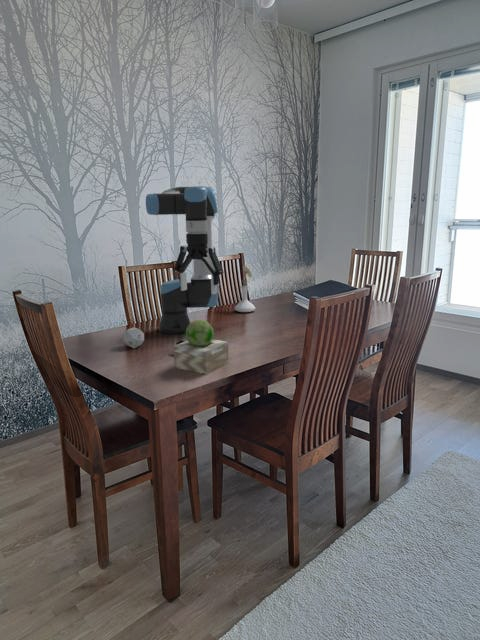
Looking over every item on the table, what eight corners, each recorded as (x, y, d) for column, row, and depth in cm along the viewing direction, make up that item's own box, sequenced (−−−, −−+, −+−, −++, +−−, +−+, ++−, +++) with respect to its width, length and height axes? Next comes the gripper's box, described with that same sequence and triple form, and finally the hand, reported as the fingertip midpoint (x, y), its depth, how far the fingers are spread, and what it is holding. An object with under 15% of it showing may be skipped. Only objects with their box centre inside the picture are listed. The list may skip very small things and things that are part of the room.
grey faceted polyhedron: (122, 351, 187) (133, 334, 183) (117, 337, 193) (127, 320, 189) (139, 354, 193) (151, 338, 189) (134, 340, 198) (145, 324, 194)
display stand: (174, 367, 166) (173, 346, 164) (197, 356, 178) (197, 336, 176) (206, 374, 159) (205, 352, 157) (228, 362, 170) (228, 341, 168)
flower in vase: (255, 313, 248) (255, 266, 242) (234, 313, 248) (233, 267, 242) (255, 308, 260) (255, 263, 254) (234, 308, 260) (234, 264, 254)
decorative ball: (188, 342, 171) (183, 317, 168) (215, 338, 172) (210, 313, 168) (188, 354, 162) (182, 328, 159) (216, 349, 162) (211, 323, 159)
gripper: (162, 232, 166) (165, 290, 172) (220, 234, 154) (221, 297, 159) (175, 230, 172) (178, 286, 178) (232, 233, 160) (233, 293, 165)
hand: (198, 292), depth 169 cm, fingers open, 13 cm apart
